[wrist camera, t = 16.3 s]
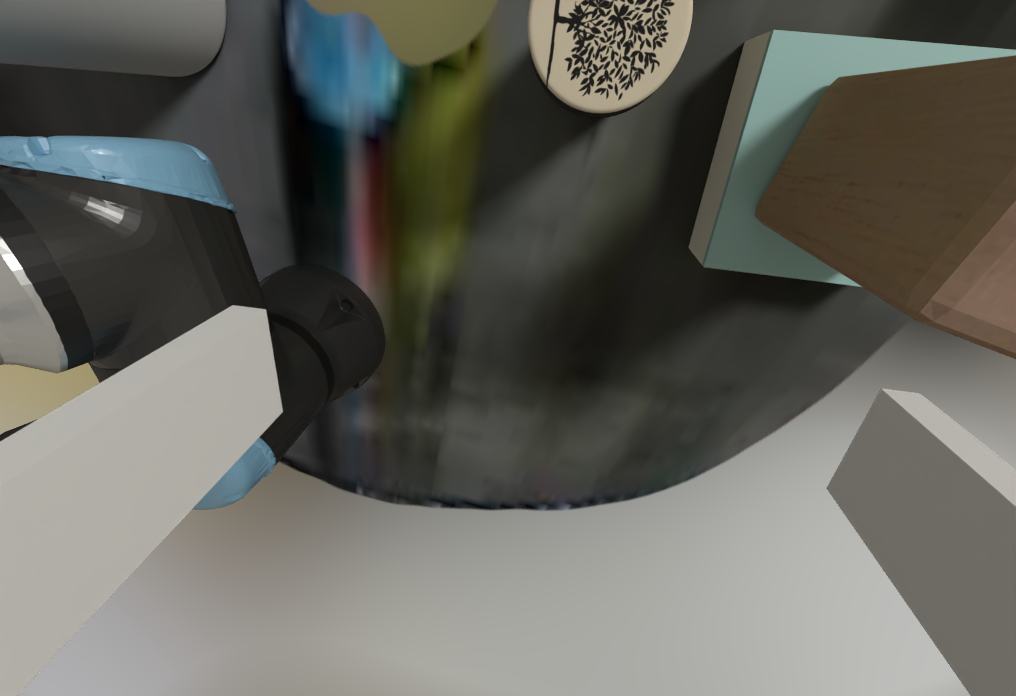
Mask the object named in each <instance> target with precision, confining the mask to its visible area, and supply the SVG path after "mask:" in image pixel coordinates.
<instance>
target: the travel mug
mask: <svg viewBox="0 0 1016 696" xmlns="http://www.w3.org/2000/svg"><path fill="white" fill-rule="evenodd" d="M692 13H693V0H531V1H530V5H529V12H528V41H529V48H530V55H531V59H532V63H533V67H534V70H535V72H536V75H537V77H538V79H539V81H540V83H541V84H542V86H543V87H544V89H545V90H546V92H547V93H548V94H549V95H550V96H551V97H552V98H553V99H554V100H555V101H556V102H557V103H558V104H559V105H561V106H562V107H564V108H565V109H567V110H569V111H571V112H573V113H575V114H578V115H581V116H586V117H593V118H603V117H610V116H615V115H618V114H622V113H624V112H627V111H629V110H631V109H633V108H634V107H636V106H638V105H639V104H641V103H642V102H644V101H645V100H646V99H647V98H648V97H650V96H651V95H652V94H653V93H654V92H655V91H656V90H657V89H658V88H659V87H660V85H661V84H662V83H663V82H664V81H665V80H666V79H667V77H668V76H669V75H670V73H671V72H672V70H673V69H674V68H675V66H676V64H677V62H678V61H679V59H680V57H681V54H682V52H683V50H684V47H685V45H686V42H687V39H688V35H689V32H690V27H691V22H692Z"/></svg>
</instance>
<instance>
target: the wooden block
mask: <svg viewBox="0 0 1016 696" xmlns="http://www.w3.org/2000/svg"><path fill="white" fill-rule="evenodd" d="M755 217H756V218H757V219H758V220H759V221H760V222H761V224H763V225H765V226H766V227H768V228H769V229H771V230H773V231H774V232H776V233H777V234H779V235H780V236H782V237H784V238H785V239H787V240H788V241H790V242H792V243H793V244H795V245H796V246H798V247H800V248H801V249H803V250H804V251H806V252H808V253H809V254H811V255H812V256H814V257H816V258H817V259H819V260H820V261H822V262H823V263H825V264H827V265H828V266H830V267H831V268H833V269H835V270H836V271H838V272H839V273H841V274H843V275H844V276H846V277H847V278H849V279H851V280H852V281H854V282H855V283H857V284H859V285H860V286H862V287H863V288H865V289H866V290H868V291H870V292H871V293H873V294H874V295H876V296H878V297H879V298H881V299H882V300H884V301H886V302H887V303H889V304H890V305H892V306H894V307H895V308H897V309H898V310H900V311H902V312H903V313H905V314H906V315H908V316H909V317H911V318H913V319H914V320H916V321H918V322H921V323H923V324H926V325H929V326H931V327H934V328H936V329H939V330H942V331H944V332H947V333H949V334H952V335H955V336H957V337H960V338H963V339H965V340H968V341H970V342H973V343H975V344H978V345H981V346H983V347H986V348H988V349H991V350H994V351H996V352H999V353H1001V354H1004V355H1006V356H1009V357H1012V358H1014V359H1016V55H1014V56H1006V57H998V58H990V59H982V60H973V61H965V62H957V63H949V64H941V65H933V66H925V67H917V68H909V69H900V70H892V71H884V72H876V73H868V74H860V75H852V76H844V77H838V78H837V79H836V80H835V81H834V82H833V83H832V84H831V85H829V86H828V87H827V89H826V91H825V92H824V94H823V96H822V97H821V99H820V101H819V102H818V104H817V106H816V107H815V109H814V111H813V112H812V114H811V116H810V117H809V119H808V121H807V122H806V124H805V126H804V127H803V129H802V131H801V133H800V134H799V136H798V138H797V139H796V141H795V143H794V144H793V146H792V148H791V149H790V151H789V153H788V154H787V156H786V158H785V159H784V161H783V163H782V164H781V166H780V168H779V169H778V171H777V173H776V175H775V176H774V178H773V180H772V181H771V183H770V185H769V186H768V188H767V190H766V191H765V193H764V195H763V196H762V198H761V200H760V201H759V203H758V205H757V208H756V212H755Z"/></svg>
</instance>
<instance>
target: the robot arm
mask: <svg viewBox="0 0 1016 696" xmlns="http://www.w3.org/2000/svg"><path fill="white" fill-rule="evenodd" d="M235 213H237V212H236V209H235V207H234V206H233V204H231V203H230V202H229V200H228V197H227V195H226V193H225V190H224V188H223V185H222V183H221V180H220V178H219V176H218V173H217V171H216V168H215V166H214V164H213V163H212V161H211V160H210V159H209V157H208V156H207V155H205V154H204V153H203V152H202V151H200V150H199V149H197V148H195V147H193V146H191V145H188V144H185V143H181V142H175V141H168V140H159V139H145V138H130V137H106V136H51V137H48V138H46V137H42V136H36V137H21V136H3V137H0V365H2V364H11V365H21V366H25V367H30V368H35V369H39V370H44V371H49V372H54V373H59V372H63V371H66V370H69V369H71V368H74V367H77V366H80V365H82V364H85V363H89V364H90V366H91V368H92V370H93V371H94V373H95V375H96V376H97V378H98V380H99V382H100V383H99V384H98V385H96V386H94V387H92V388H91V389H89V390H87V391H86V392H84V393H82V394H81V395H79V396H77V397H75V398H74V399H72V400H70V401H69V402H67V403H65V404H64V405H62V406H60V407H58V408H57V409H55V410H53V411H52V412H50V413H48V414H46V415H45V416H43V417H41V418H40V419H38V420H35V421H32V422H30V423H27V424H24V425H22V426H19V427H17V428H14V429H12V430H9V431H6V432H4V433H3V434H1V435H0V696H18V695H19V694H20V693H21V691H23V689H24V688H25V687H26V686H27V685H28V684H29V683H30V682H31V681H32V680H33V679H34V678H35V677H36V676H37V674H38V673H39V672H40V671H41V670H42V669H43V668H44V667H45V666H46V665H47V663H49V661H50V660H51V659H52V658H53V657H54V656H55V655H56V654H57V653H58V652H59V651H60V650H61V649H62V648H63V647H64V646H65V644H66V643H67V642H68V641H69V640H70V639H71V638H72V637H73V636H74V635H75V634H76V633H77V632H78V630H79V629H80V628H81V627H82V626H83V625H84V624H85V623H86V622H87V621H88V620H89V619H90V618H91V617H92V616H93V615H94V613H95V612H96V611H97V610H98V609H99V608H100V607H101V606H102V605H103V604H104V603H105V602H106V600H108V598H109V597H110V596H111V595H112V594H113V593H114V592H115V591H116V590H117V589H118V588H119V587H120V586H121V584H122V583H123V582H124V581H125V580H126V579H127V578H128V577H129V576H130V575H131V574H132V573H133V572H134V571H135V570H136V568H137V567H138V566H139V565H140V564H141V563H142V562H143V561H144V560H145V559H146V558H147V557H148V556H149V555H150V554H151V552H152V551H153V550H154V549H155V548H156V547H157V546H158V545H159V544H160V543H161V541H163V540H164V539H165V537H166V536H167V535H168V534H169V533H170V532H171V531H172V530H173V529H174V528H175V527H176V525H178V524H179V522H180V521H181V520H182V519H183V518H184V517H185V516H186V515H187V514H188V513H189V512H190V511H191V510H192V509H196V510H207V509H216V508H221V507H224V506H227V505H230V504H232V503H234V502H236V501H238V500H240V499H241V498H242V497H244V496H245V495H246V494H247V493H248V492H249V491H250V490H251V489H252V488H253V487H254V486H255V485H256V484H257V483H258V482H259V481H260V480H261V479H262V478H263V477H265V476H267V475H268V474H269V473H270V472H271V471H272V470H273V469H274V466H275V465H276V464H277V463H278V462H279V460H280V459H281V458H282V457H283V455H284V454H285V453H286V452H287V451H288V449H289V448H290V447H291V446H292V445H293V443H294V442H295V441H296V440H297V438H298V437H299V436H300V435H301V434H302V432H303V431H304V430H305V429H306V427H307V426H308V425H309V424H310V423H311V421H312V420H313V419H314V418H315V417H316V415H317V414H318V413H319V412H320V410H321V409H322V408H323V407H324V406H325V405H326V404H327V403H329V402H331V401H333V400H335V399H337V398H339V397H341V396H342V395H346V394H348V393H350V392H352V391H354V390H356V389H358V388H359V387H360V386H362V385H363V384H364V383H365V382H366V381H367V380H368V379H369V378H370V376H371V375H372V374H373V373H374V371H375V370H376V369H377V367H378V366H379V364H380V362H381V360H382V357H383V354H384V348H385V334H384V329H383V325H382V322H381V319H380V316H379V314H378V312H377V310H376V308H375V307H374V305H373V304H372V302H371V301H370V299H369V298H368V297H367V296H366V294H365V293H364V292H363V291H362V290H361V289H360V288H359V287H358V286H356V285H355V284H354V283H353V282H351V281H350V280H349V279H347V278H346V277H344V276H342V275H341V274H339V273H337V272H334V271H332V270H330V269H327V268H324V267H320V266H315V265H294V266H289V267H286V268H283V269H281V270H279V271H277V272H275V273H273V274H271V275H270V276H268V277H266V278H265V279H263V280H262V281H261V282H258V279H257V276H256V273H255V271H254V268H253V265H252V262H251V259H250V256H249V253H248V251H247V248H246V245H245V242H244V239H243V236H242V234H241V231H240V228H239V225H238V222H237V219H236V216H235ZM827 490H828V491H829V493H830V494H831V495H832V497H833V498H834V500H835V501H836V502H837V504H838V505H839V507H840V508H841V510H842V511H843V513H844V514H845V515H846V517H847V518H848V520H849V521H850V523H851V524H852V526H853V527H854V528H855V530H856V531H857V533H858V534H859V536H860V537H861V539H862V540H863V541H864V543H865V544H866V546H867V547H868V549H869V550H870V551H871V553H872V554H873V556H874V557H875V559H876V560H877V561H878V563H879V564H880V566H881V567H882V569H883V570H884V572H885V573H886V575H887V576H888V577H889V579H890V580H891V582H892V583H893V585H894V586H895V587H896V589H897V590H898V592H899V593H900V595H901V596H902V598H903V599H904V600H905V602H906V603H907V605H908V606H909V608H910V609H911V610H912V612H913V613H914V615H915V616H916V618H917V619H918V620H919V622H920V623H921V625H922V626H923V628H924V629H925V631H926V632H927V634H928V635H929V636H930V638H931V639H932V641H933V642H934V644H935V645H936V646H937V648H938V649H939V651H940V652H941V654H942V655H943V656H944V658H945V659H946V661H947V662H948V664H949V665H950V667H951V668H952V669H953V671H954V672H955V673H956V675H957V677H958V678H959V680H960V681H961V682H962V684H963V685H964V687H965V688H966V690H967V691H968V692H969V694H970V695H971V696H1016V470H1015V469H1014V468H1013V467H1012V466H1010V465H1009V464H1008V463H1007V462H1005V461H1004V460H1003V459H1001V458H1000V457H999V456H998V455H997V454H995V453H994V452H993V451H991V450H990V449H989V448H988V447H986V446H985V445H984V444H983V443H981V442H980V441H979V440H978V439H976V438H975V437H974V436H972V435H971V434H970V433H969V432H968V431H966V430H965V429H964V428H963V427H961V426H960V425H959V424H958V423H956V422H955V421H954V420H952V419H951V418H950V417H949V416H947V415H946V414H945V413H944V412H942V411H941V410H940V409H939V408H937V407H936V406H935V405H934V404H932V403H931V402H930V401H928V400H927V399H926V398H925V397H924V396H922V395H921V394H920V393H912V392H904V391H896V390H889V389H881V390H880V391H879V393H878V395H877V397H876V399H875V401H874V402H873V404H872V406H871V408H870V410H869V412H868V413H867V415H866V417H865V419H864V421H863V423H862V424H861V426H860V428H859V430H858V432H857V433H856V435H855V437H854V439H853V441H852V443H851V444H850V446H849V448H848V450H847V452H846V454H845V456H844V457H843V459H842V461H841V463H840V465H839V466H838V468H837V470H836V472H835V474H834V476H833V477H832V479H831V481H830V483H829V485H828V487H827Z"/></svg>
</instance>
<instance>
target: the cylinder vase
mask: <svg viewBox="0 0 1016 696" xmlns="http://www.w3.org/2000/svg"><path fill="white" fill-rule="evenodd" d="M225 28H226V1H225V0H0V63H4V64H17V65H30V66H43V67H55V68H68V69H81V70H93V71H106V72H119V73H131V74H144V75H157V76H170V77H182V76H188V75H192V74H194V73H197V72H199V71H200V70H202V69H203V68H205V67H206V66H207V65H208V64H209V63H210V62H211V61H212V60H213V59H214V57H215V56H216V54H217V53H218V51H219V49H220V47H221V44H222V41H223V38H224V34H225Z"/></svg>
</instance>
